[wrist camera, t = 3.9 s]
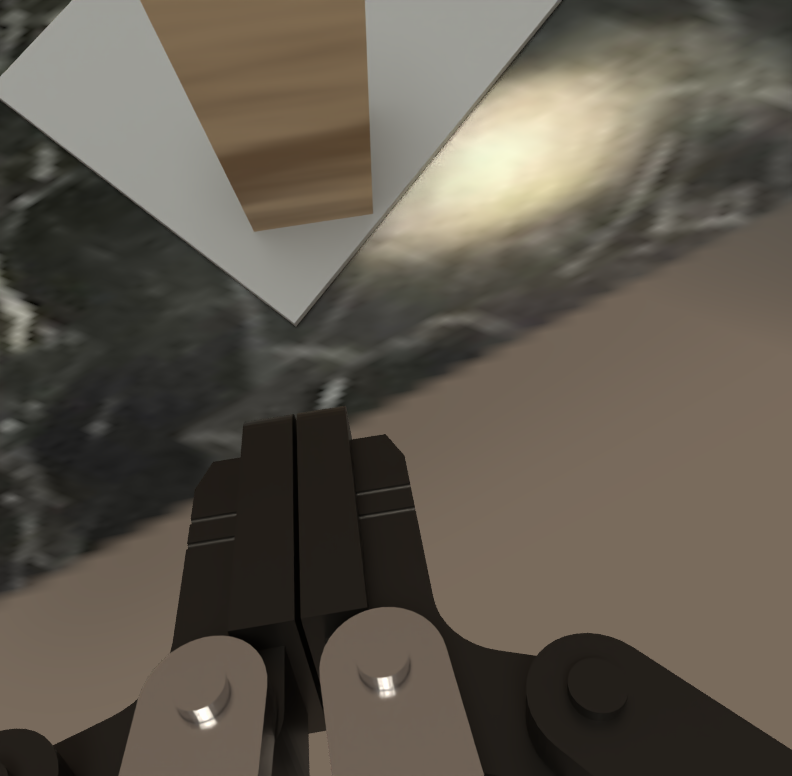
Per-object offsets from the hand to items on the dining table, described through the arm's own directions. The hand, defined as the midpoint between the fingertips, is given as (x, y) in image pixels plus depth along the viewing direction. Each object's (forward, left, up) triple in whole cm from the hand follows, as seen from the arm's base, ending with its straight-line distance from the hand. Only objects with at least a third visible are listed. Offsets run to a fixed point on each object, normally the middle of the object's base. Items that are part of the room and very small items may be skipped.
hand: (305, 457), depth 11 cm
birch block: (+8, +9, -14) cm, 19 cm away
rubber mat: (+12, +13, -15) cm, 23 cm away
